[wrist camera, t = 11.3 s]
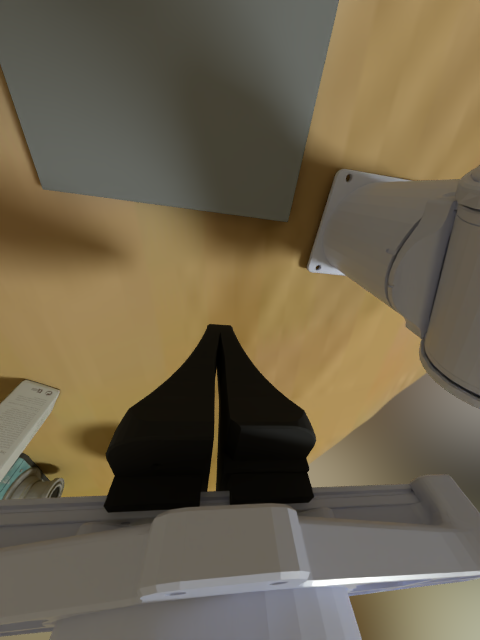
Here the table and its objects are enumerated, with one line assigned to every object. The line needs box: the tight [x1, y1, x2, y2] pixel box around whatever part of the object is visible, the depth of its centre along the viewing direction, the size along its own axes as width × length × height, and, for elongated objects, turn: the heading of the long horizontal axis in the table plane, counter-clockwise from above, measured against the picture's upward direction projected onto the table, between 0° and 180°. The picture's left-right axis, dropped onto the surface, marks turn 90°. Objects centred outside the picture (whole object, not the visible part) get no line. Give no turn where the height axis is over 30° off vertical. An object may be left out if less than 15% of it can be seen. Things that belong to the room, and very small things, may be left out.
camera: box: [0, 453, 64, 500], centre depth 35 cm, size 16×10×10 cm, turn 171°
